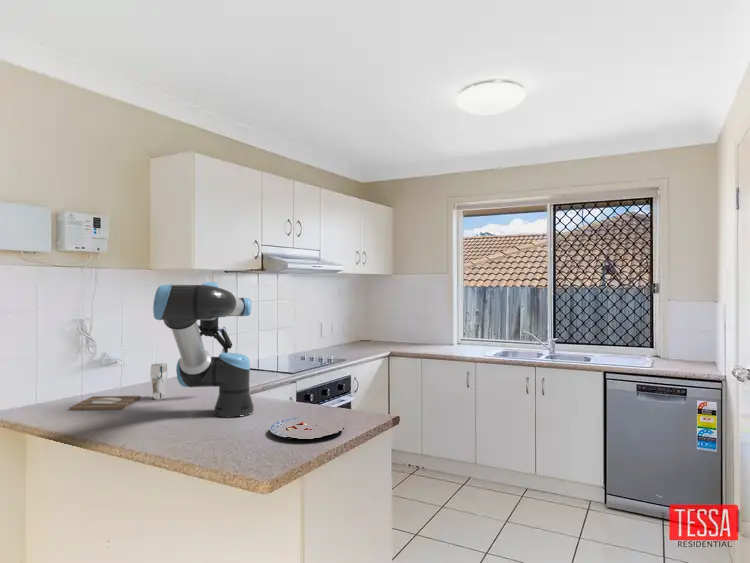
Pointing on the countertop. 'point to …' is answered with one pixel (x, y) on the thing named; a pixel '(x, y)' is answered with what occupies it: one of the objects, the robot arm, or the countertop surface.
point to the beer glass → (158, 381)
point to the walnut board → (105, 403)
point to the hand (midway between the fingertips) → (208, 358)
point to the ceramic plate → (274, 428)
